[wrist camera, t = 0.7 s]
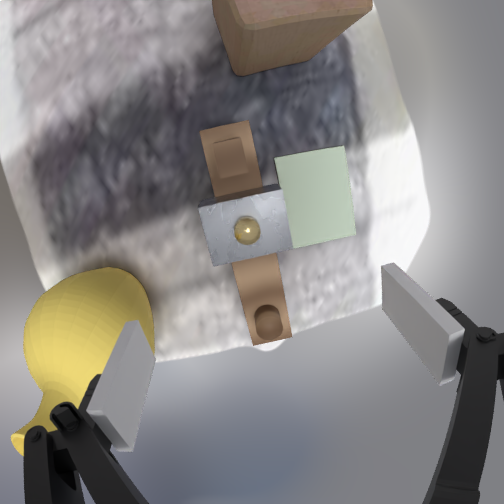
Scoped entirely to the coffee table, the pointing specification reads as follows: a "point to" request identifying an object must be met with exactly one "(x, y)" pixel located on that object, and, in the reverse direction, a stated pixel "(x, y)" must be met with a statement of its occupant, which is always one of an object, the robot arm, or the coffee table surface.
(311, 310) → the coffee table surface
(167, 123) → the coffee table surface
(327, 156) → the felt mat
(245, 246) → the lever cap
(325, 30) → the wooden block
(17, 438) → the vase
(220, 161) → the body
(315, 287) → the coffee table surface
